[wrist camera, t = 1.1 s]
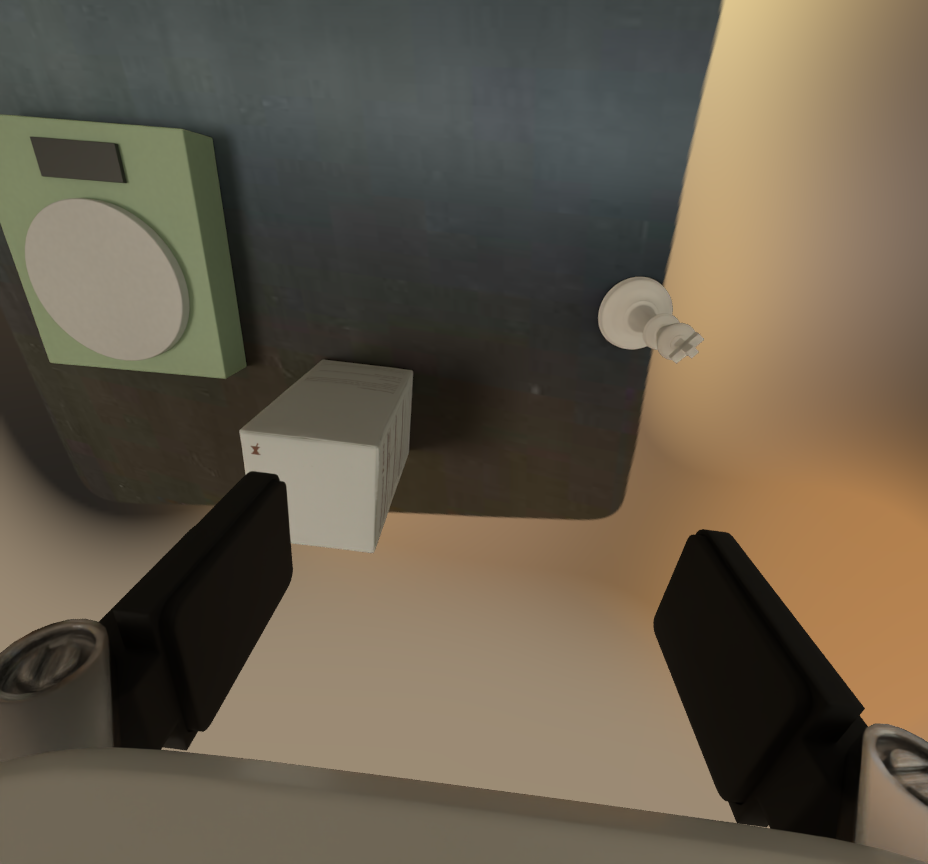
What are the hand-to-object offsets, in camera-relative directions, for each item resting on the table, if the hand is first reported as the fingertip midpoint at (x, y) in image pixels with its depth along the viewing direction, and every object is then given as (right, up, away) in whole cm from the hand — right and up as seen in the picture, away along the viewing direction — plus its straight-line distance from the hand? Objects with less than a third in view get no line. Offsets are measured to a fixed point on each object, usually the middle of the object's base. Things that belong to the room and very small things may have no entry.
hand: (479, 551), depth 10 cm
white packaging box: (-8, +5, +25) cm, 27 cm away
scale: (-23, +15, +21) cm, 35 cm away
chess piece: (+12, +11, +21) cm, 26 cm away
